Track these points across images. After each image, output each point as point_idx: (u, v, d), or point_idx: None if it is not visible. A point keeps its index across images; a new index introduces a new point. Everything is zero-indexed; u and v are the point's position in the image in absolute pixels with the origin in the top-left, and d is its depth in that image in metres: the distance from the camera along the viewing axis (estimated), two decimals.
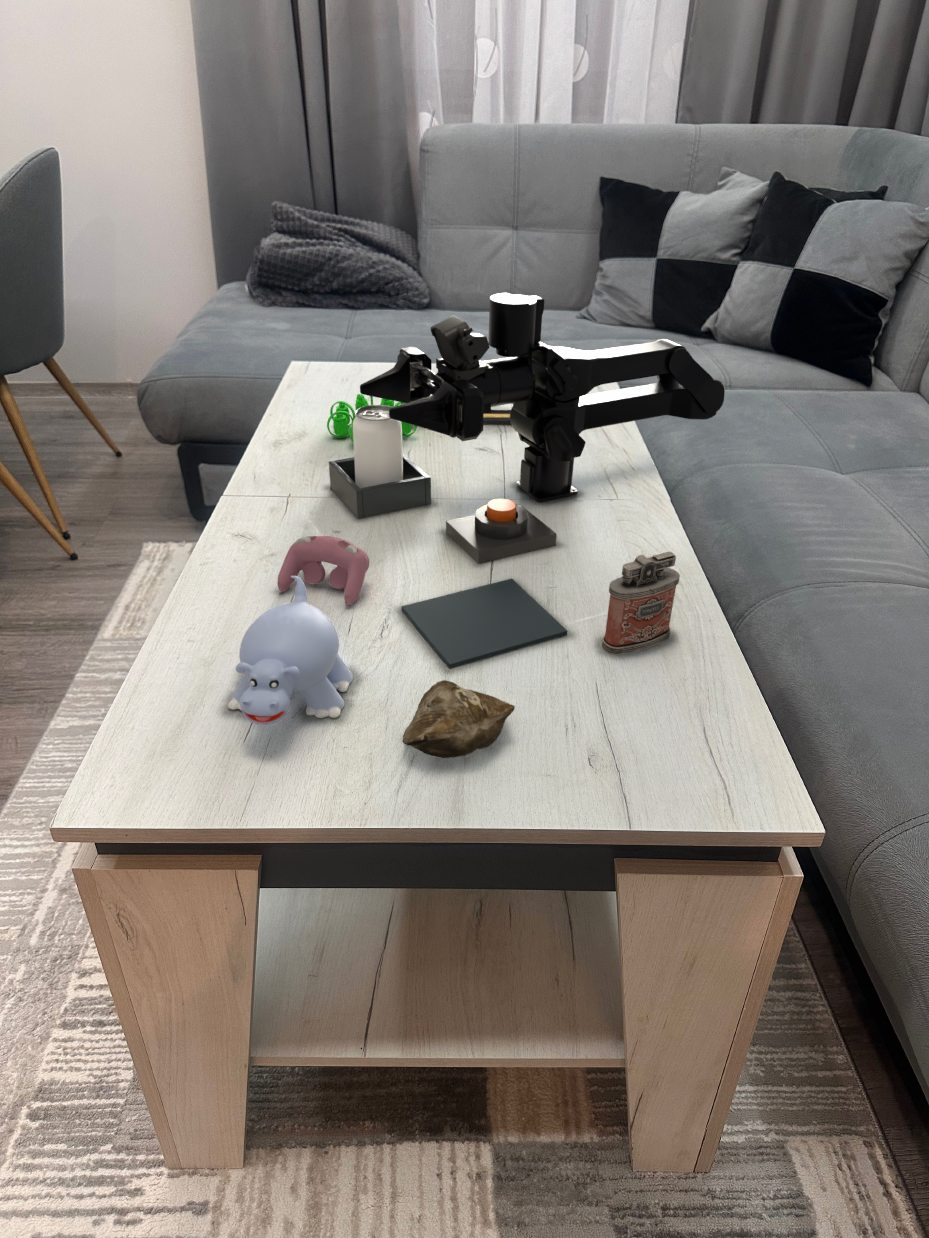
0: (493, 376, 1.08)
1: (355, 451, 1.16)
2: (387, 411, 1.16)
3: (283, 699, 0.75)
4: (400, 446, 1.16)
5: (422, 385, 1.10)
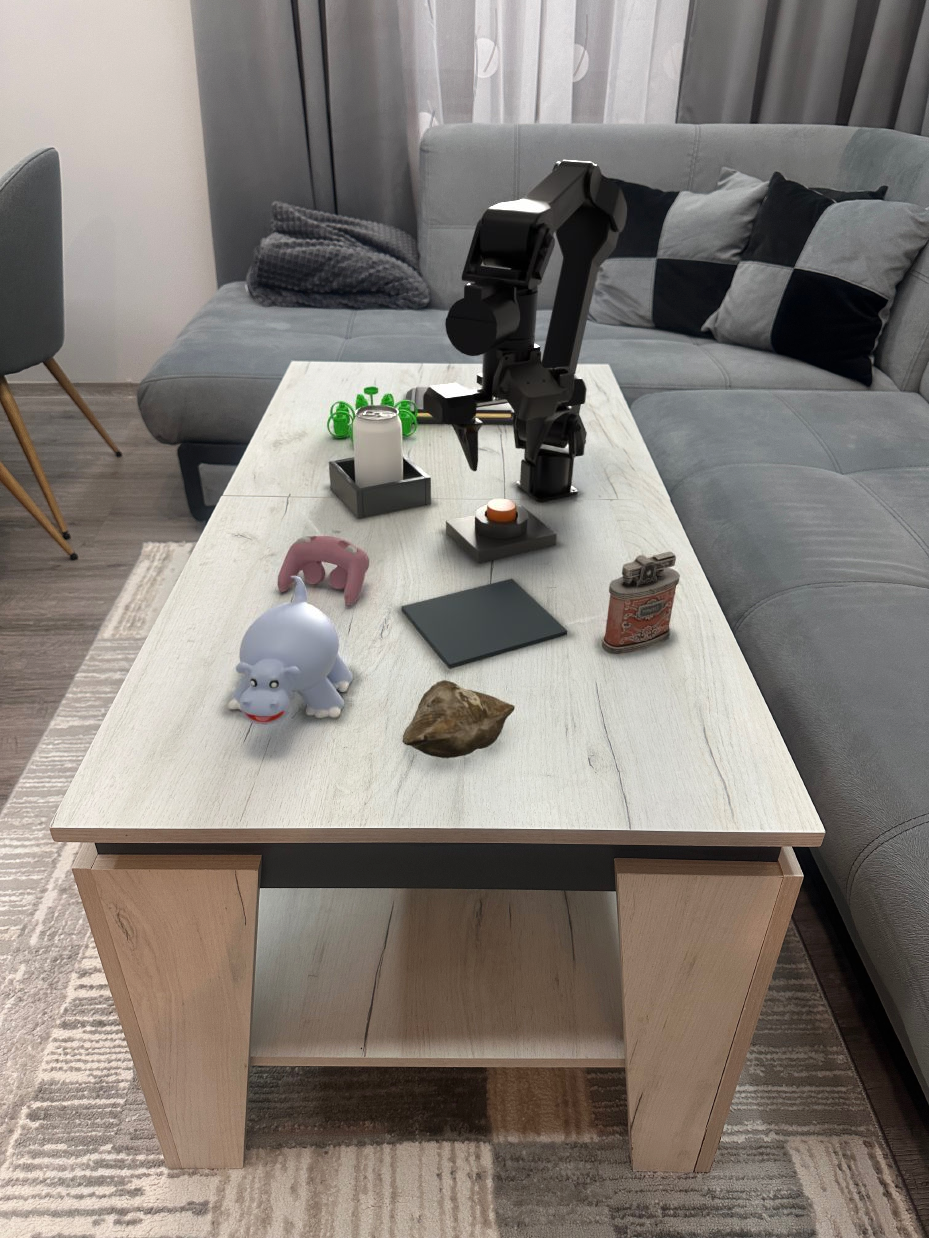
0: (534, 342, 0.97)
1: (355, 451, 1.16)
2: (387, 411, 1.16)
3: (283, 699, 0.75)
4: (400, 446, 1.16)
5: None
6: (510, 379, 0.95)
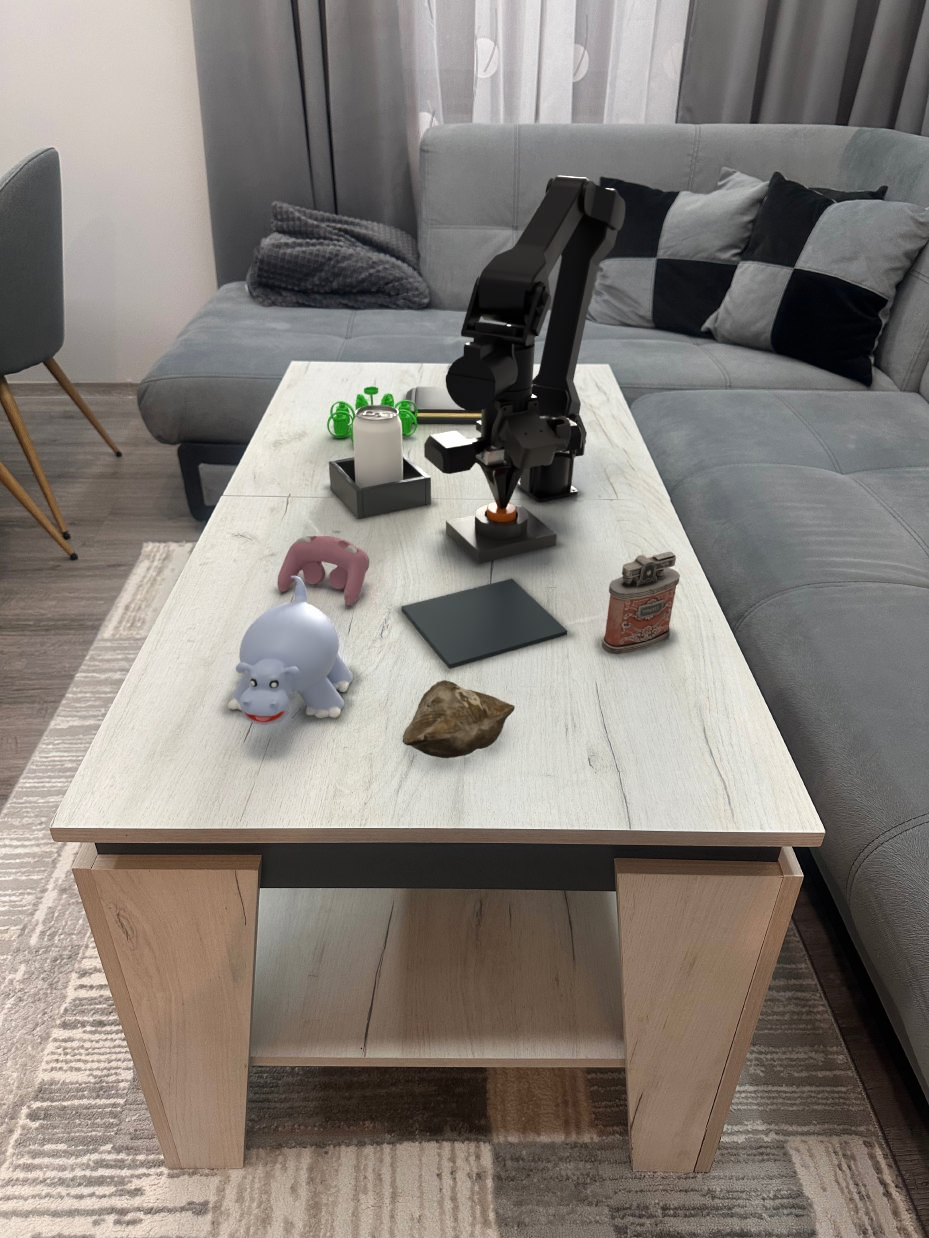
0: (531, 392, 1.00)
1: (355, 451, 1.16)
2: (387, 411, 1.16)
3: (283, 699, 0.75)
4: (400, 446, 1.16)
5: None
6: (508, 430, 0.98)
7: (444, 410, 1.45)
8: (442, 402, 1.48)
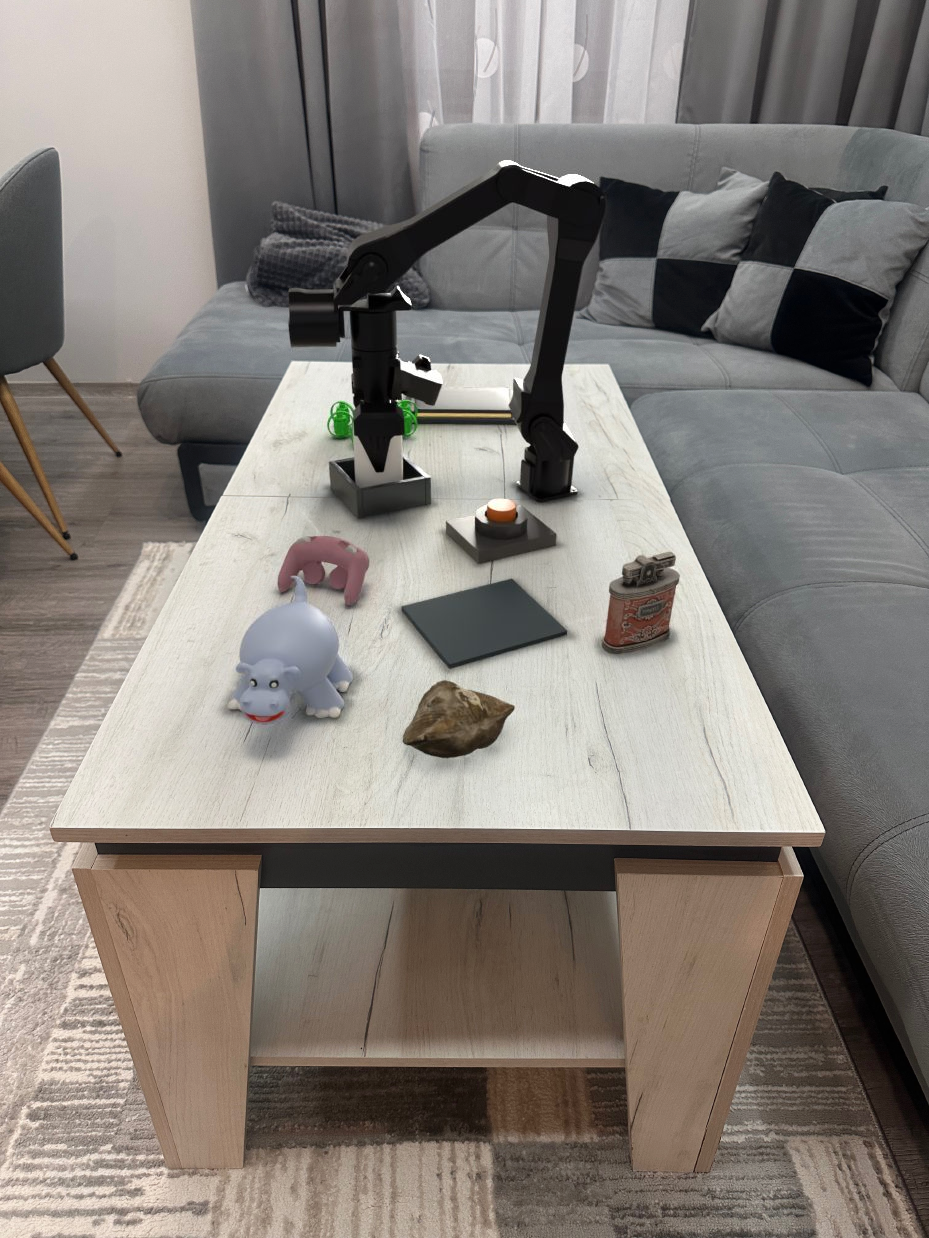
0: None
1: (355, 451, 1.16)
2: None
3: (283, 699, 0.75)
4: (400, 446, 1.16)
5: None
6: (415, 378, 1.10)
7: (444, 410, 1.45)
8: (442, 402, 1.48)
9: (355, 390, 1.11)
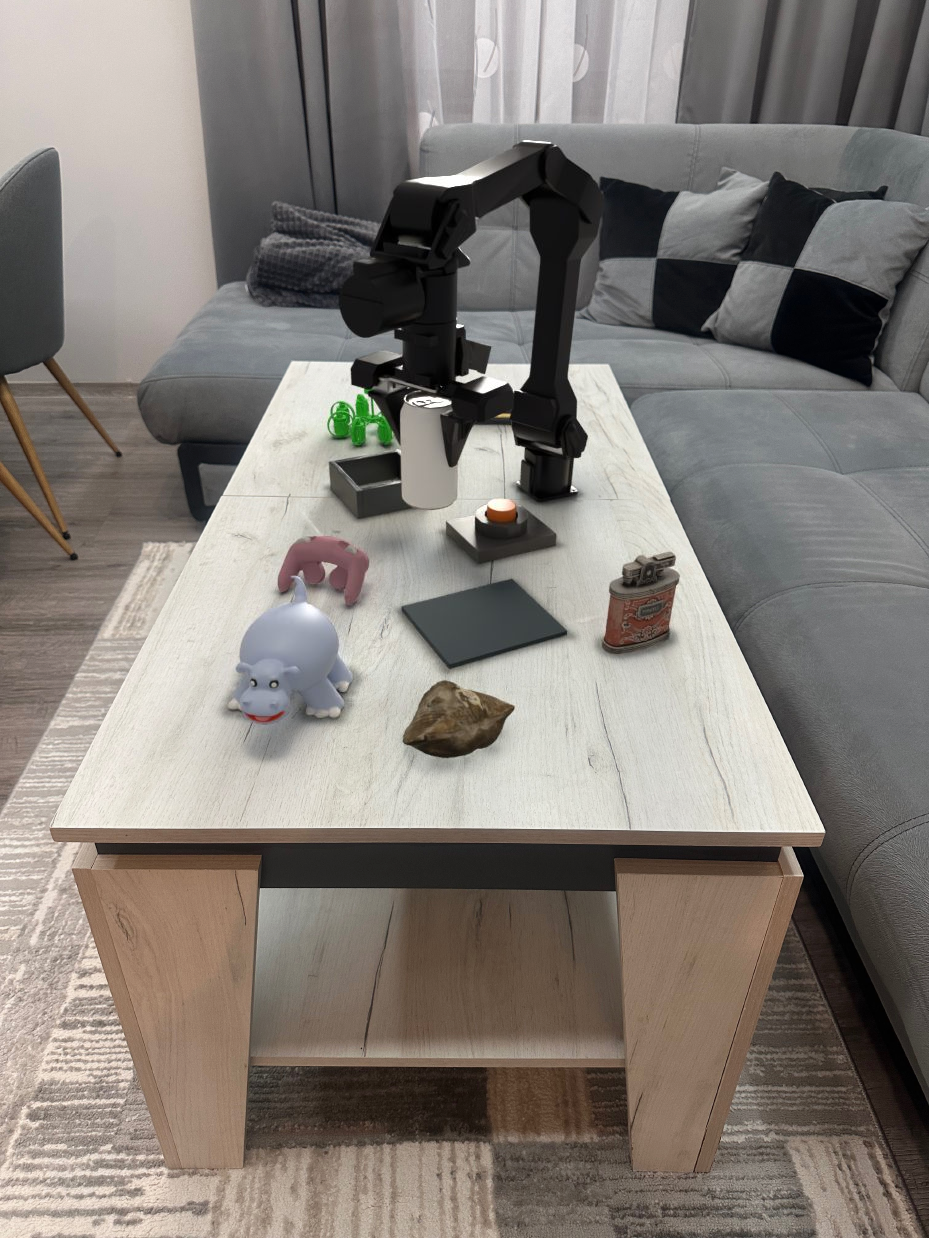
0: None
1: (419, 451, 0.96)
2: (430, 396, 0.97)
3: (283, 699, 0.75)
4: None
5: None
6: (475, 345, 0.95)
7: None
8: None
9: (426, 375, 0.91)
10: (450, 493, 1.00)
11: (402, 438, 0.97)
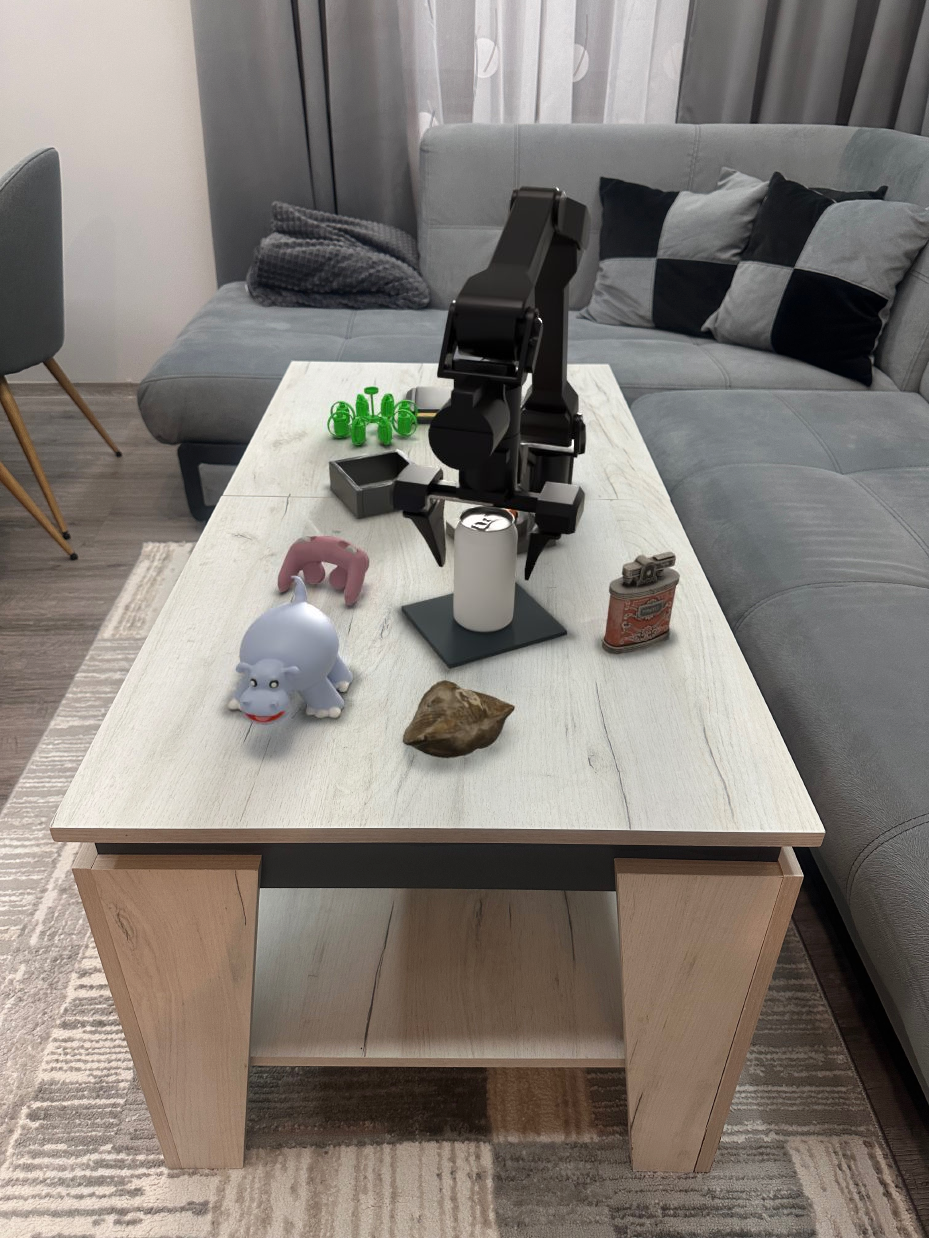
0: None
1: (488, 576, 0.88)
2: (480, 513, 0.90)
3: (283, 699, 0.75)
4: None
5: None
6: (523, 447, 0.89)
7: None
8: (442, 402, 1.48)
9: (498, 492, 0.83)
10: (512, 609, 0.93)
11: (463, 564, 0.89)
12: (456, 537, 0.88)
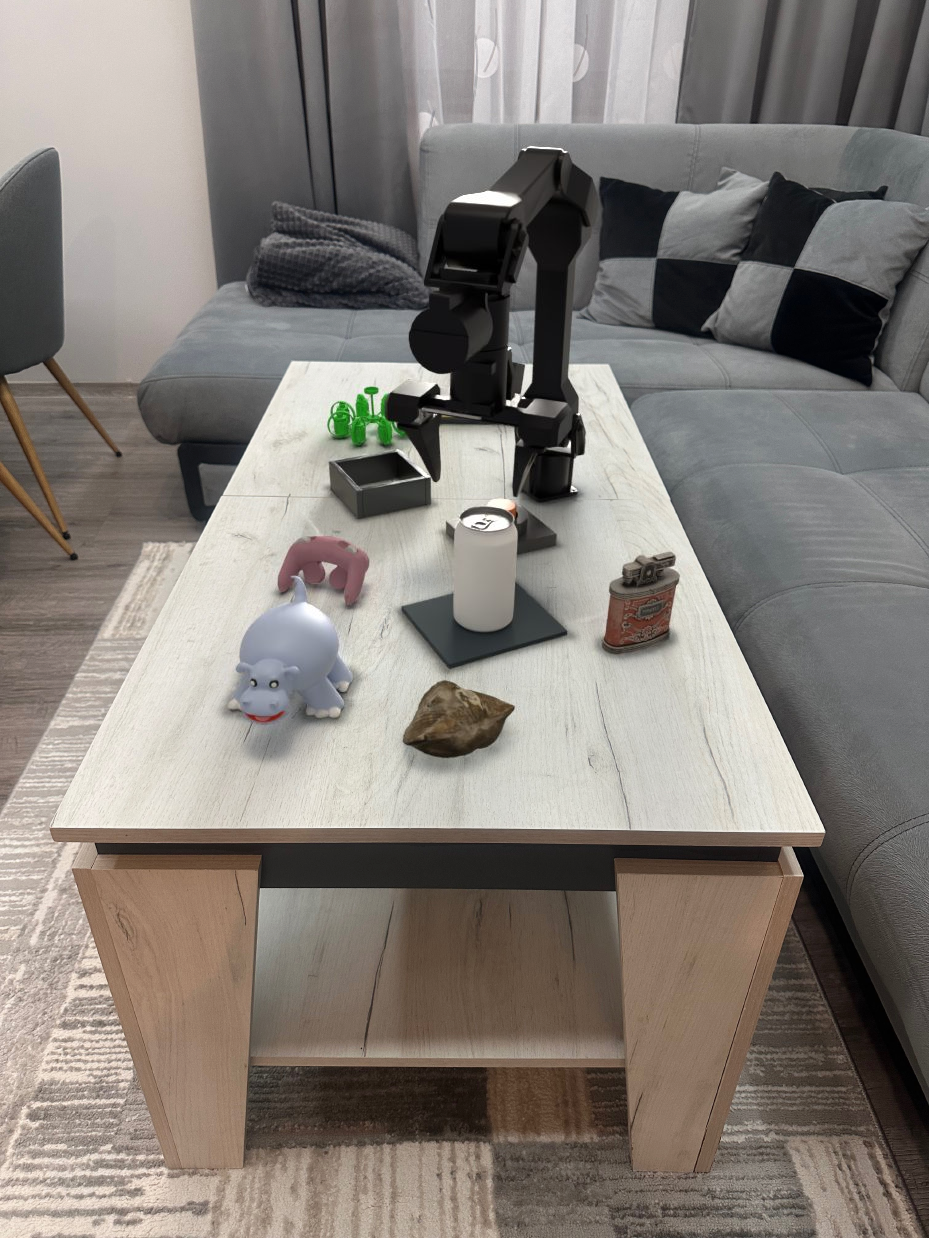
0: None
1: (488, 576, 0.88)
2: (480, 513, 0.90)
3: (283, 699, 0.75)
4: None
5: None
6: (517, 366, 0.91)
7: None
8: None
9: (484, 404, 0.86)
10: (512, 609, 0.93)
11: (463, 564, 0.89)
12: (456, 537, 0.88)
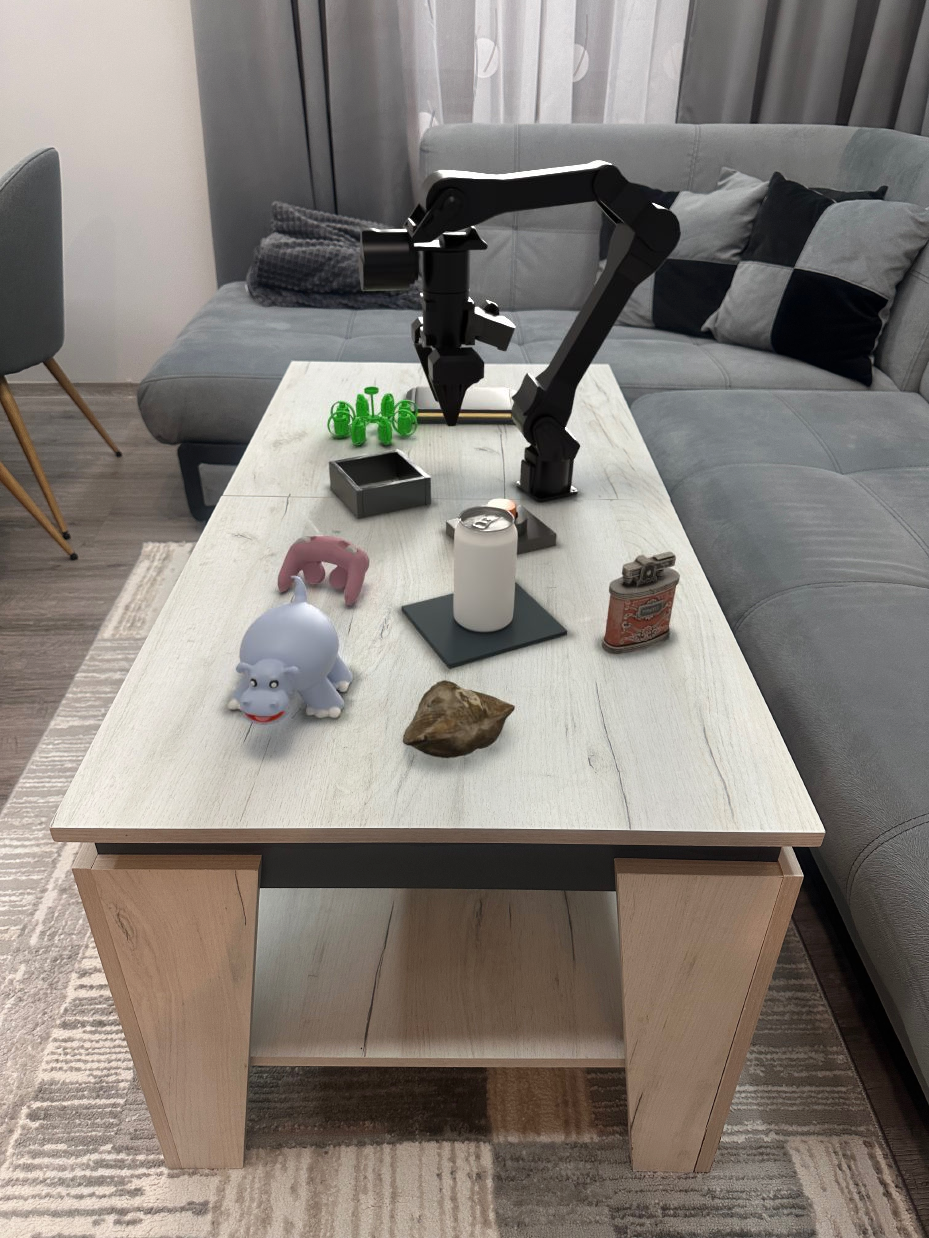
0: None
1: (488, 576, 0.88)
2: (480, 513, 0.90)
3: (283, 699, 0.75)
4: None
5: None
6: (489, 321, 1.07)
7: None
8: None
9: (426, 336, 1.07)
10: (512, 609, 0.93)
11: (463, 564, 0.89)
12: (456, 537, 0.88)
